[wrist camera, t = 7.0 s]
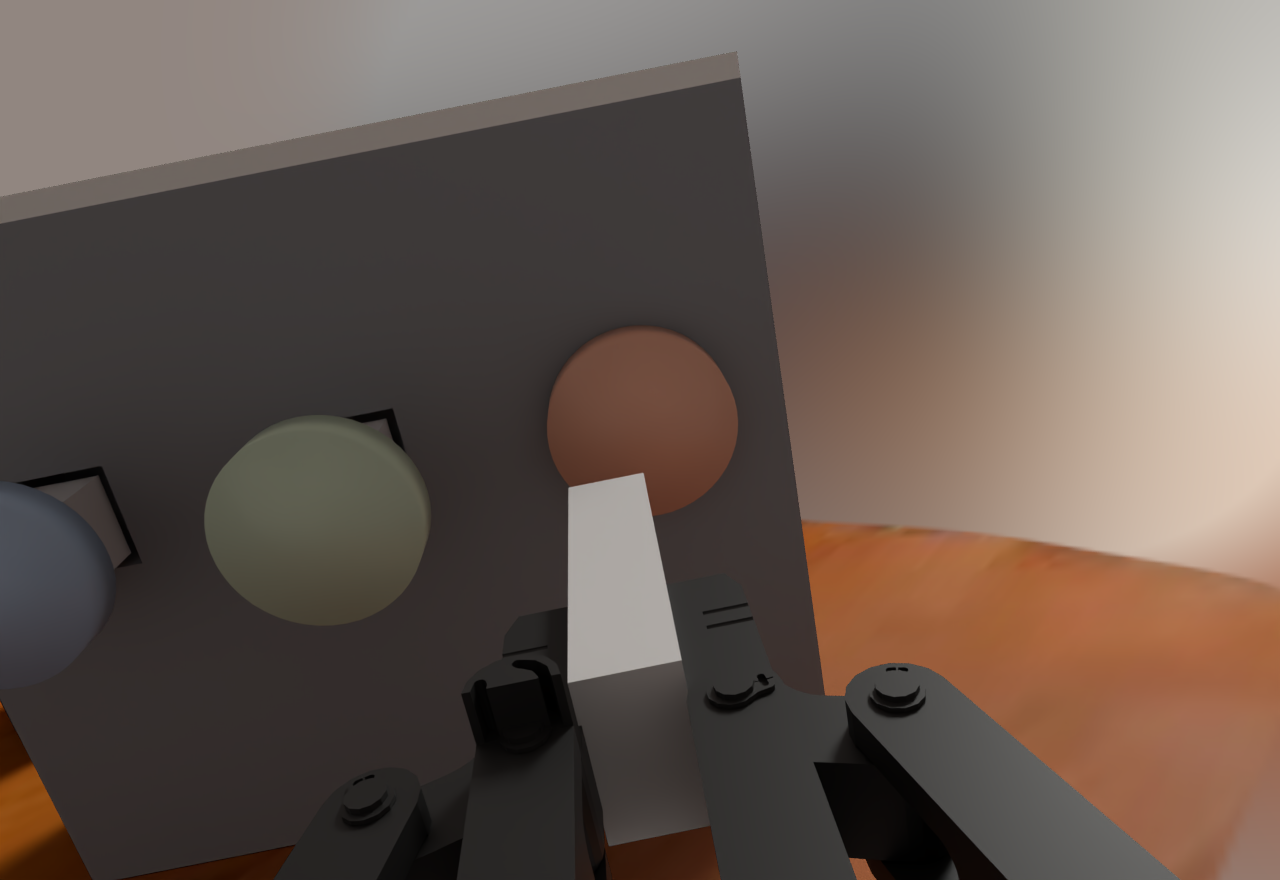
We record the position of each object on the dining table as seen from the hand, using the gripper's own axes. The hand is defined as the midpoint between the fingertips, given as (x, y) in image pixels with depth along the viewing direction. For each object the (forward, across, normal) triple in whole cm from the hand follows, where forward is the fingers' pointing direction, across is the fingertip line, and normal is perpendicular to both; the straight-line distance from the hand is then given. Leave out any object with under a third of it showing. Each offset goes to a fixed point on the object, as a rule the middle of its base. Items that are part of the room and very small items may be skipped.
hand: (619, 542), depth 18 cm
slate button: (+6, -15, -2) cm, 16 cm away
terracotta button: (+8, +1, -2) cm, 9 cm away
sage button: (+6, -7, -2) cm, 9 cm away
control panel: (+11, -7, -12) cm, 17 cm away
